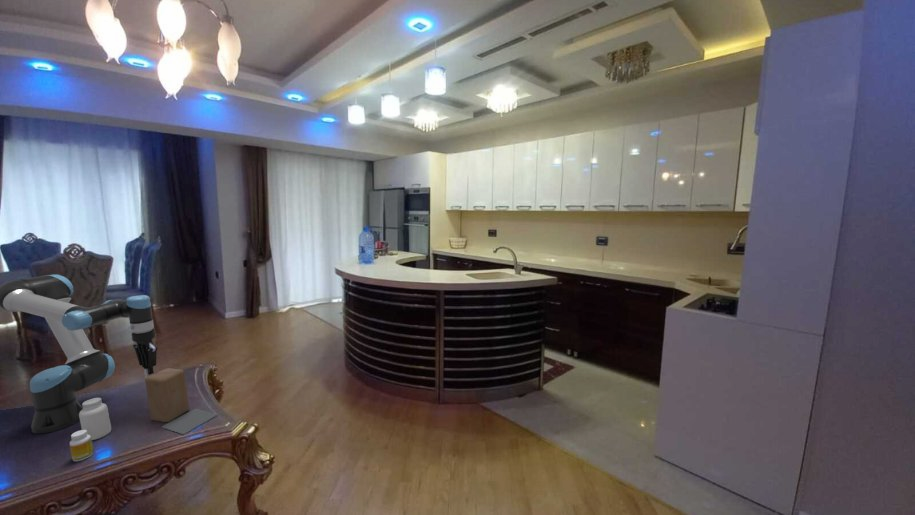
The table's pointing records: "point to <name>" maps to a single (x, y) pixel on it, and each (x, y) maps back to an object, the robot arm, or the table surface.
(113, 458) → the table surface
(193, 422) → the mat
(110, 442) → the table surface
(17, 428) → the table surface
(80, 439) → the supplement bottle
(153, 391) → the wooden block
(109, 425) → the pill bottle
